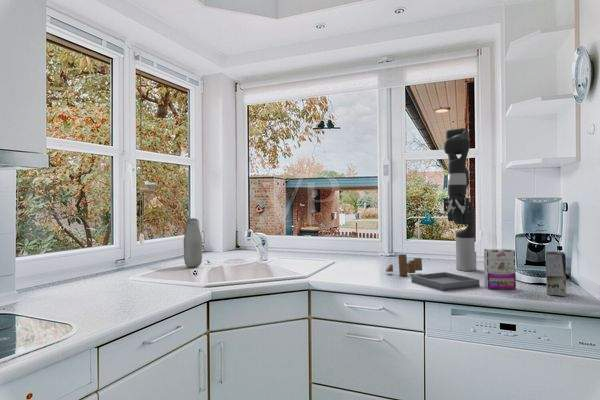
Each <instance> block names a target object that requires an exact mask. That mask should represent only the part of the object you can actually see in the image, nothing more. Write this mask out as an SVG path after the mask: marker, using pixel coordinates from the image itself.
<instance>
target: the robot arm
mask: <svg viewBox="0 0 600 400" xmlns="http://www.w3.org/2000/svg"><path fill="white" fill-rule="evenodd" d="M444 138H445V141H444V144H443V151H444V153H445V154H446V155H447V158H448V164H447V165H448V166H447V168H448V171H447V173H448V176H447V195H448V196H449V197H448V198H447V197H444V198H443V212H446V213H447V220H448V222H453V223H454V224H455V225H460V226H461V225H462V226H463V225H467V227H466V228H464V229H462V230H458V231H456V233H455V251H456V252H455V257H456V258H455V268H456V270H458V271H463V272H465V271H467V272H471V271H476V270H477V251H476V249H475V248H476V245H475V241H476V240H475V238H476V237H475V236H476V235H475V233H476V231H475V230H476V227H475V226H476V210H475V209H474V208H473V204H472V203H473V199H472V197H466V195H467V190H468V187H469V185H470V174H469V173H470V172H469V170H468V168H467V167H466V165H467V158H468V154H469V150H470V148H471V142H470V134H469V130H468V129H467V128H465V127H461V128H453V129H447V130H446V131H445V137H444ZM459 155H460V157H458V156H459Z"/></svg>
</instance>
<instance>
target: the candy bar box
mask: <svg viewBox="0 0 600 400" xmlns="http://www.w3.org/2000/svg"><path fill="white" fill-rule="evenodd" d="M483 266H484V267H483V270H484V271H483V272H484V273H483V275H484V288H486V289H487V290H504V291H505V290H506V291H507V290H517V282H516V281H517V279H516V278H517V277H516V274H517V272H516V250H514V249H511V248H492V249H491V248H489V249H487V248H483Z"/></svg>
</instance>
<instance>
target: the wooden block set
mask: <svg viewBox="0 0 600 400" xmlns="http://www.w3.org/2000/svg"><path fill="white" fill-rule="evenodd" d="M407 258H408V257H407V254H406V253H399V254H398V258H397V259H398V270H399V271H398V272H399V276H401V277H402V276H403V277H406V276H408V274H416V271H417V272H421V271H423V261H422V258H421V257H414V258H413V260H407ZM385 272H387V273H389V272H390V273H391V272H394V265H393V264H392V263H391V264H389V265H388V267H387V268H386V269H385Z"/></svg>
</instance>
